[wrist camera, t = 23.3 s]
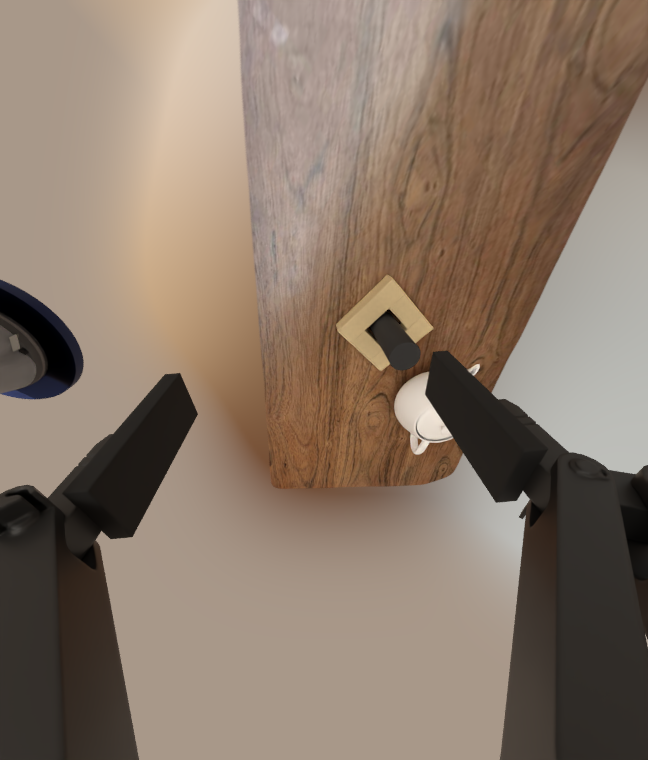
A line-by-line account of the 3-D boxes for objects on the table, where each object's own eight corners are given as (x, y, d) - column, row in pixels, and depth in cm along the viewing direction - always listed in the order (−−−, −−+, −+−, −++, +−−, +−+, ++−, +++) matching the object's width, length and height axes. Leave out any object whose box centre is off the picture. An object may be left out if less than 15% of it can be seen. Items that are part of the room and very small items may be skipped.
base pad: (335, 324, 42) (337, 331, 40) (387, 274, 38) (393, 278, 36) (376, 363, 47) (380, 371, 44) (426, 321, 43) (433, 328, 40)
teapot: (432, 433, 58) (456, 474, 49) (375, 426, 56) (389, 468, 47) (485, 346, 46) (528, 379, 37) (415, 333, 44) (444, 364, 35)
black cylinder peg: (365, 329, 43) (383, 365, 33) (376, 307, 41) (399, 338, 31) (386, 337, 44) (410, 373, 34) (397, 315, 42) (426, 348, 32)
